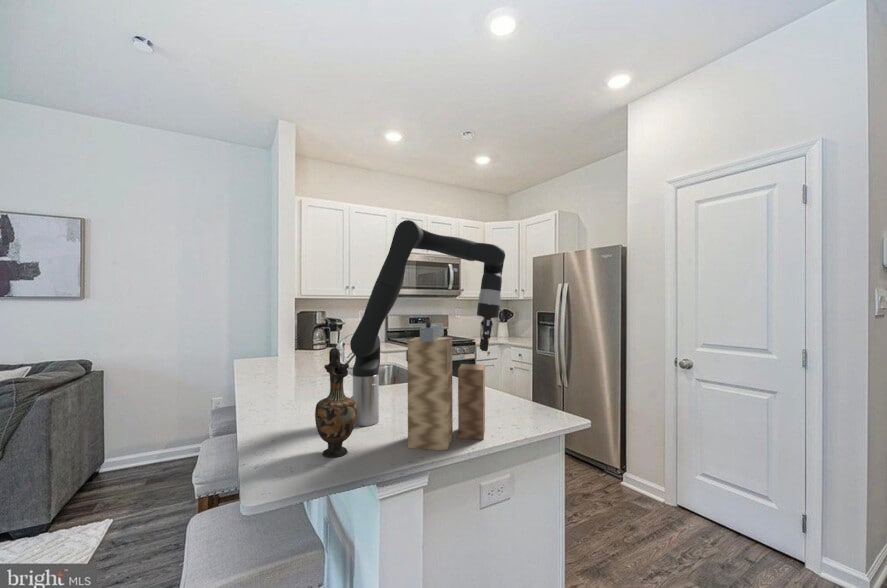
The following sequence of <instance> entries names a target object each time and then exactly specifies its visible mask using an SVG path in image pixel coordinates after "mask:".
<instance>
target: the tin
mask: <svg viewBox="0 0 887 588" xmlns="http://www.w3.org/2000/svg"><path fill="white" fill-rule="evenodd" d="M444 325H445V324H444V323H443V322H442V323H440V322H439V323H437V322H436V323H432V320H431V318H428V319H427V318H426V319H425V326H422V327H419V337H420V342H433V341H435V340H437V339H438V338H440V337H441V338H442V337H443V336H444V334H445V328H444V327H445V326H444Z"/></svg>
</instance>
